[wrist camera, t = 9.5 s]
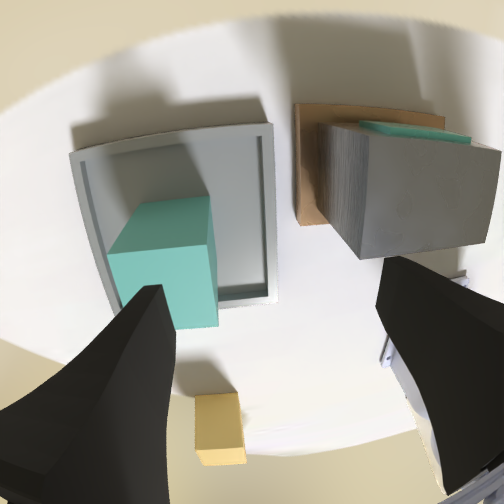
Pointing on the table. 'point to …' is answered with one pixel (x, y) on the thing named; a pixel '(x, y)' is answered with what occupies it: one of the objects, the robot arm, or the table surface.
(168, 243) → the teal block
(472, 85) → the table surface
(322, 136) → the silver unit
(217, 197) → the slate tray
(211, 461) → the ochre block
